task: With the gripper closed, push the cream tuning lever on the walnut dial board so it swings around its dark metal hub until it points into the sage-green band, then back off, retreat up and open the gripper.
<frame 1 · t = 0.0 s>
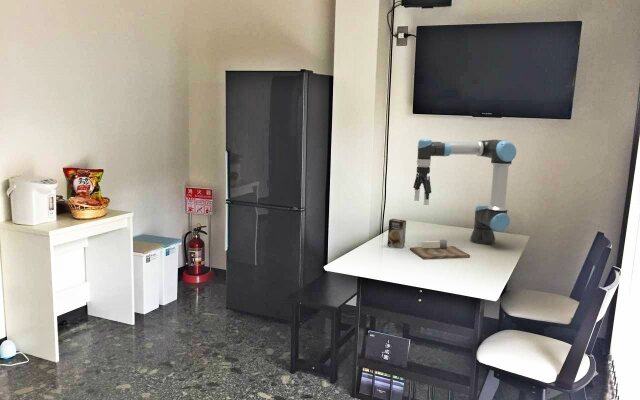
hand: (421, 202, 313), 28 cm above the table, fingers open, 13 cm apart
dial board: (439, 253, 310), on the table
coffee box: (396, 246, 324), on the table
tuning lever: (434, 244, 315), point 4 cm above the table, hinge at 0.0°
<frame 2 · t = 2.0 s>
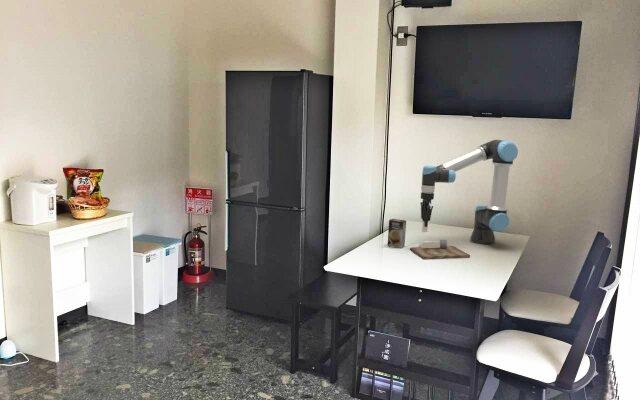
hand: (424, 231, 318), 10 cm above the table, fingers closed
nothing on the table moved.
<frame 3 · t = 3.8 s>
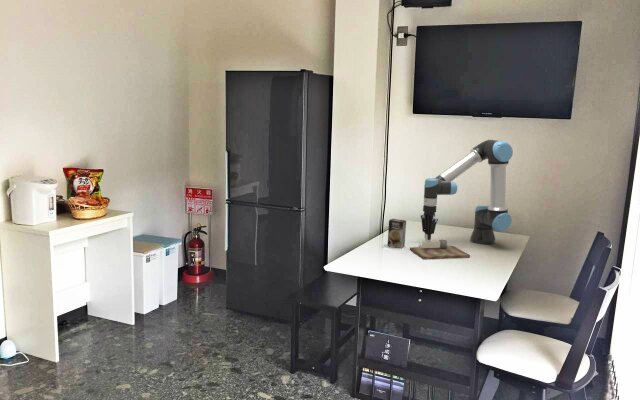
hand: (427, 244, 316), 3 cm above the table, fingers closed
tuning lever: (434, 244, 315), point 4 cm above the table, hinge at 0.0°, touching gripper
everything else where it was.
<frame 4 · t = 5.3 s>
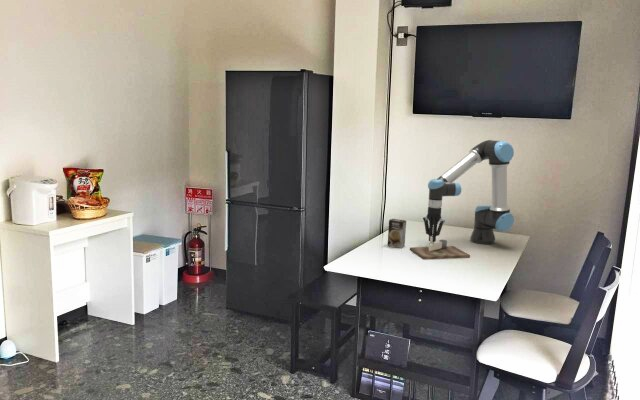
hand: (431, 246, 311), 3 cm above the table, fingers closed
tuning lever: (437, 245, 312), point 4 cm above the table, hinge at 30.4°, touching gripper
everything else where it was.
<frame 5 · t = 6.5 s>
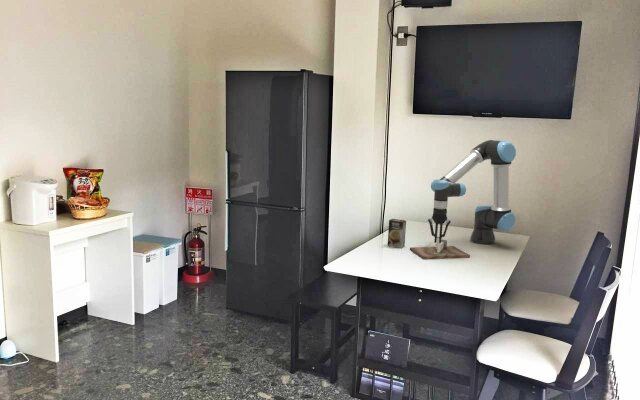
hand: (437, 248, 308), 3 cm above the table, fingers closed
tuning lever: (441, 246, 311), point 4 cm above the table, hinge at 53.8°, touching gripper
everything else where it was.
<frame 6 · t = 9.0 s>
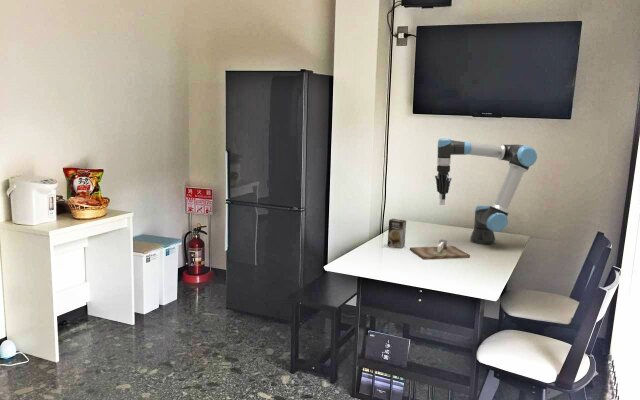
hand: (442, 204, 320), 26 cm above the table, fingers closed
tuning lever: (441, 246, 311), point 4 cm above the table, hinge at 53.9°
everything else where it was.
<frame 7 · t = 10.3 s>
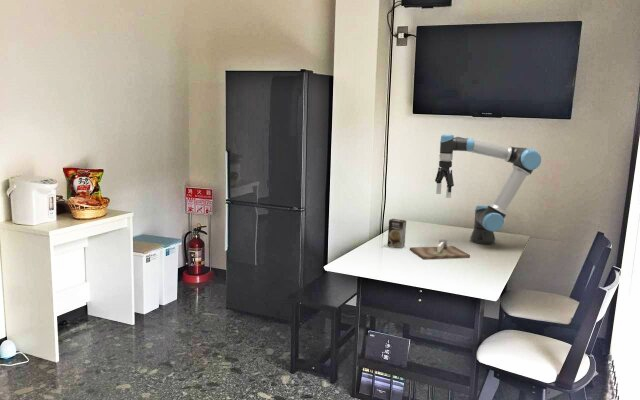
hand: (443, 195, 324), 31 cm above the table, fingers open, 13 cm apart
nothing on the table moved.
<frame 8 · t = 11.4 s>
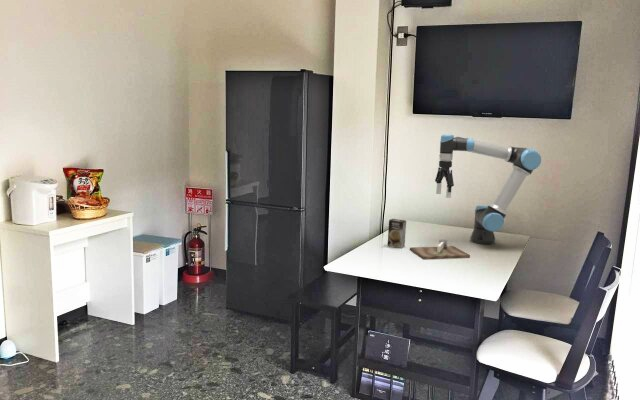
hand: (443, 195, 324), 31 cm above the table, fingers open, 13 cm apart
nothing on the table moved.
at the end: tuning lever at +54° (first picture: +0°); coffee box moved 0.2 cm from its start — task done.
